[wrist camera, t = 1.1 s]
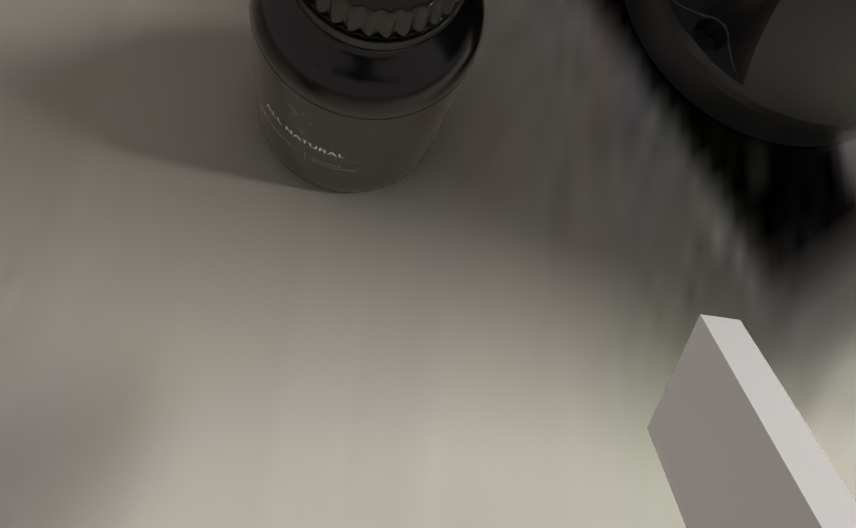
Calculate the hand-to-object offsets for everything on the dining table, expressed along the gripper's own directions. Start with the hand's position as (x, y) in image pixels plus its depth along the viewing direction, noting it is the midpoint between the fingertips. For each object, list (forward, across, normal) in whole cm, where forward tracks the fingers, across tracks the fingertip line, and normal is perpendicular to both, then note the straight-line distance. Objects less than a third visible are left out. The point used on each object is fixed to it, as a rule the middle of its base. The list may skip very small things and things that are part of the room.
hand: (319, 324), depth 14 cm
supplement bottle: (+18, 0, -3) cm, 19 cm away
